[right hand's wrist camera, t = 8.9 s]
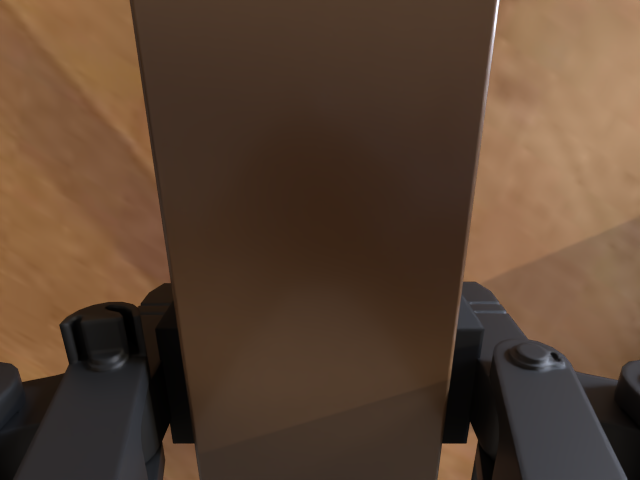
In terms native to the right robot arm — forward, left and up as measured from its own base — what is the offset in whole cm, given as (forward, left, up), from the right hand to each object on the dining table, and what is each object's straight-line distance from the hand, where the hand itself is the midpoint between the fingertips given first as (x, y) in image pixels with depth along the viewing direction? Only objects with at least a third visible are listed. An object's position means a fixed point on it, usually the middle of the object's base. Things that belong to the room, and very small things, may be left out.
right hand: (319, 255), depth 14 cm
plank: (-8, -25, 0) cm, 26 cm away
